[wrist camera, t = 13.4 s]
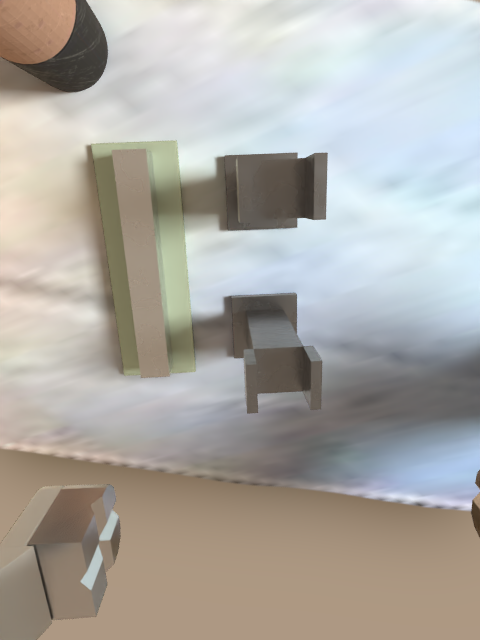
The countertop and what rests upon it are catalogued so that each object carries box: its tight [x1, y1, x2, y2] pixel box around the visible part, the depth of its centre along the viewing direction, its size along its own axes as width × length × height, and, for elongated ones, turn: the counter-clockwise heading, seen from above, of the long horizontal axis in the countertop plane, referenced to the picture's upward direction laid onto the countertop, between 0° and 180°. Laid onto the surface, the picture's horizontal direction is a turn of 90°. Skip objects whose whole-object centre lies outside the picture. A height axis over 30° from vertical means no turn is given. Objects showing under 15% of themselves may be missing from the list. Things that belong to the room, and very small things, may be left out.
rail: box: [112, 149, 173, 378], centre depth 38 cm, size 3×22×3 cm, turn 3°
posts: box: [225, 153, 328, 413], centre depth 34 cm, size 7×21×15 cm, turn 2°
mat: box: [91, 141, 196, 376], centre depth 40 cm, size 8×24×1 cm, turn 2°
